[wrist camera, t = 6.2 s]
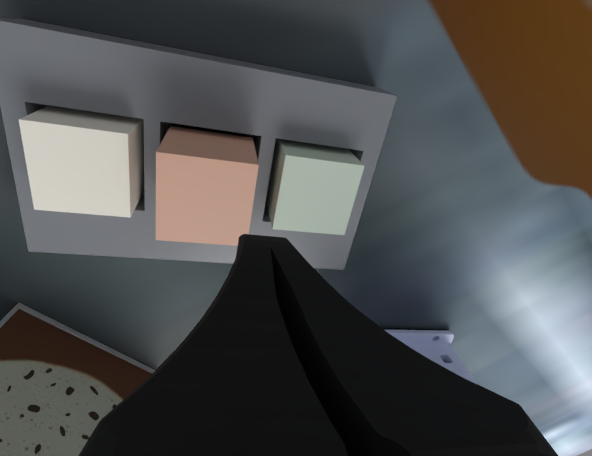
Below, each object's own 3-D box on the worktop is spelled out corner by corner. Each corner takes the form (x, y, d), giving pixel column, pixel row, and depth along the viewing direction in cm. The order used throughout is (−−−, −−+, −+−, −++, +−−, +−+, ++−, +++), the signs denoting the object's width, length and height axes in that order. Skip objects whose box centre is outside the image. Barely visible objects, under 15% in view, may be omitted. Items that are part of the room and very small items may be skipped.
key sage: (341, 142, 18) (364, 165, 15) (326, 202, 19) (344, 235, 16) (275, 132, 17) (285, 155, 14) (265, 196, 19) (272, 229, 16)
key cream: (146, 113, 16) (127, 133, 13) (147, 184, 17) (130, 217, 14) (60, 100, 15) (18, 119, 12) (69, 175, 16) (33, 209, 13)
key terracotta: (252, 137, 15) (258, 164, 12) (243, 207, 17) (246, 246, 14) (170, 126, 15) (155, 151, 12) (168, 200, 16) (155, 240, 13)
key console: (376, 87, 17) (397, 95, 15) (332, 245, 21) (344, 270, 19) (21, 18, 14) (-17, 17, 11) (52, 224, 18) (28, 251, 16)
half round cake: (-71, 352, 20) (-289, 592, 12) (-10, 288, 19) (-206, 506, 10) (119, 425, 26) (67, 622, 17) (176, 380, 25) (149, 569, 16)
